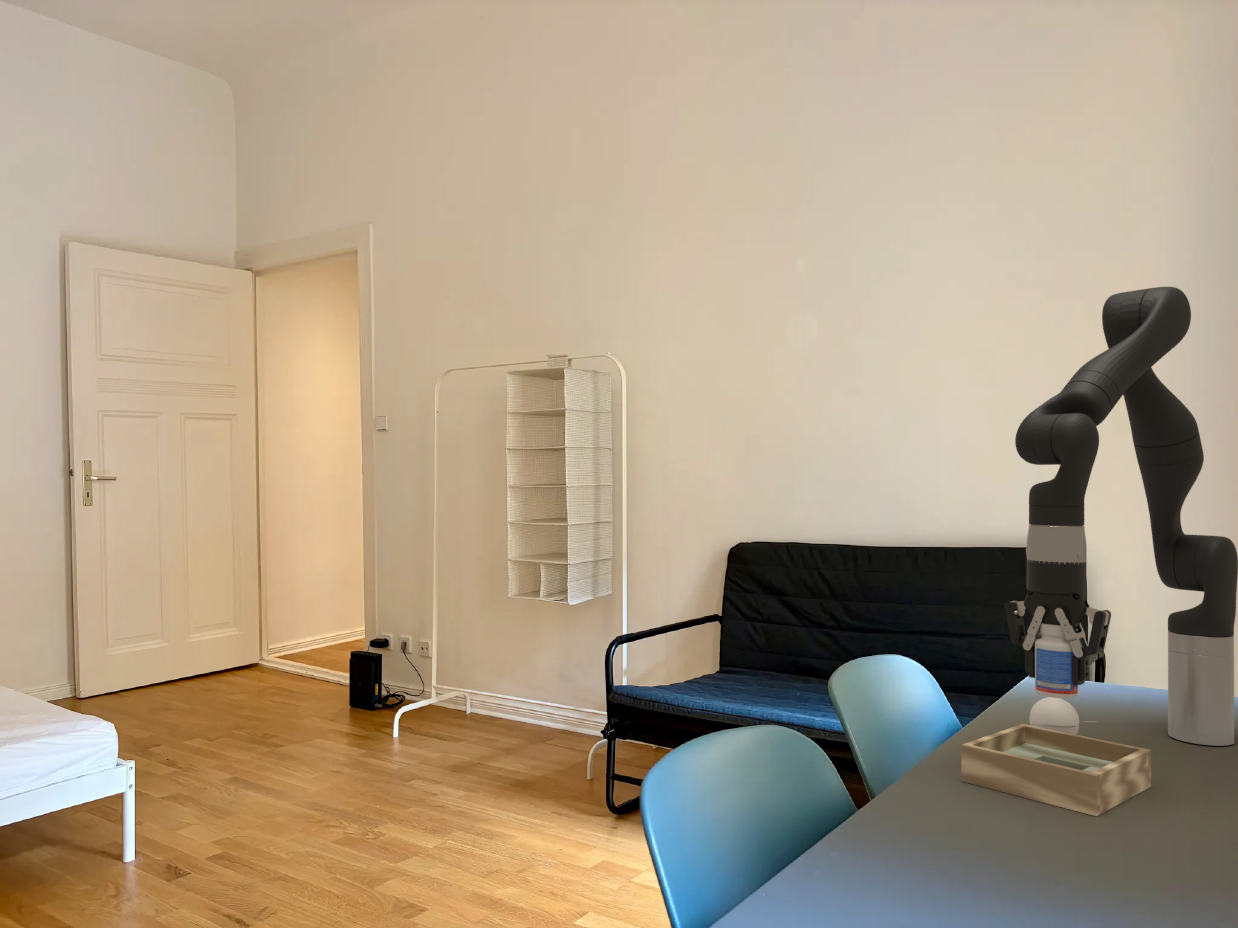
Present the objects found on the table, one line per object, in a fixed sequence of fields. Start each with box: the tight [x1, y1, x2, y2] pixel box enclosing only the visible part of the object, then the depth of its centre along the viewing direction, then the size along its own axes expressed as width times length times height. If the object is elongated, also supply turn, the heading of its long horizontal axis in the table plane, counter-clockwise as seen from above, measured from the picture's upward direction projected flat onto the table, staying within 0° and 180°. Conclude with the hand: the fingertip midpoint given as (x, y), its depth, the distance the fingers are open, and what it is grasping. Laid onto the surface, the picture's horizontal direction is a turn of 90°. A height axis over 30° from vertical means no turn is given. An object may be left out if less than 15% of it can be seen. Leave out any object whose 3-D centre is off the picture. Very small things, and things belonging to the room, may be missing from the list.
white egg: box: [1029, 696, 1098, 735], centre depth 149 cm, size 10×7×7 cm
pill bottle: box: [1034, 623, 1079, 699], centre depth 130 cm, size 6×5×10 cm
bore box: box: [960, 723, 1152, 817], centre depth 130 cm, size 18×18×5 cm
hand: (1055, 679), depth 130 cm, fingers closed on pill bottle, 5 cm apart
